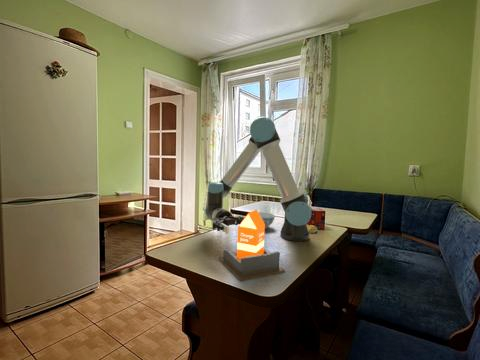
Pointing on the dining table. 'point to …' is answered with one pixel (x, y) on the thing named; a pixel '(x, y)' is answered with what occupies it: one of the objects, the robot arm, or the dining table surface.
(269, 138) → the robot arm
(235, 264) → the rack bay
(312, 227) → the bread roll
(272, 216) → the chinaware
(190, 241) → the dining table surface
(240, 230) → the orange juice
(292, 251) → the dining table surface
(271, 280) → the dining table surface
